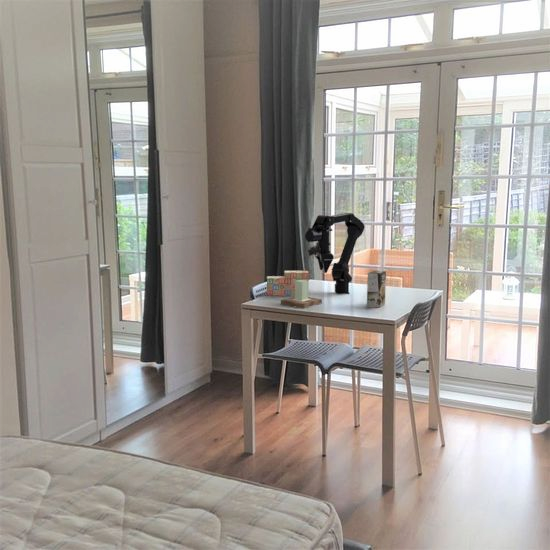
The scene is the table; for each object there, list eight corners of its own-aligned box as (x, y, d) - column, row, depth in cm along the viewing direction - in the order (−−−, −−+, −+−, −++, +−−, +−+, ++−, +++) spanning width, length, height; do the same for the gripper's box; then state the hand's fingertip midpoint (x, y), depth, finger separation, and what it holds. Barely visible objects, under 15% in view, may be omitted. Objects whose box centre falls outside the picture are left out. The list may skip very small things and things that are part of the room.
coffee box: (379, 308, 284) (380, 273, 281) (366, 306, 287) (367, 272, 284) (385, 304, 292) (386, 270, 289) (372, 303, 295) (373, 269, 292)
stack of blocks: (266, 296, 313) (266, 272, 311) (267, 293, 319) (266, 270, 317) (308, 296, 312) (308, 272, 310) (308, 293, 319) (308, 270, 316)
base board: (299, 299, 304) (299, 295, 303) (321, 303, 295) (321, 298, 294) (280, 304, 293) (280, 299, 293) (303, 308, 284) (303, 303, 284)
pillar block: (300, 297, 297) (300, 279, 295) (308, 299, 294) (308, 280, 292) (294, 299, 293) (294, 280, 292) (302, 300, 290) (302, 281, 289)
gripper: (303, 238, 313) (303, 269, 315) (311, 242, 295) (311, 275, 297) (325, 238, 314) (324, 268, 317) (334, 242, 296) (333, 274, 299)
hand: (323, 271), depth 308 cm, fingers open, 9 cm apart
